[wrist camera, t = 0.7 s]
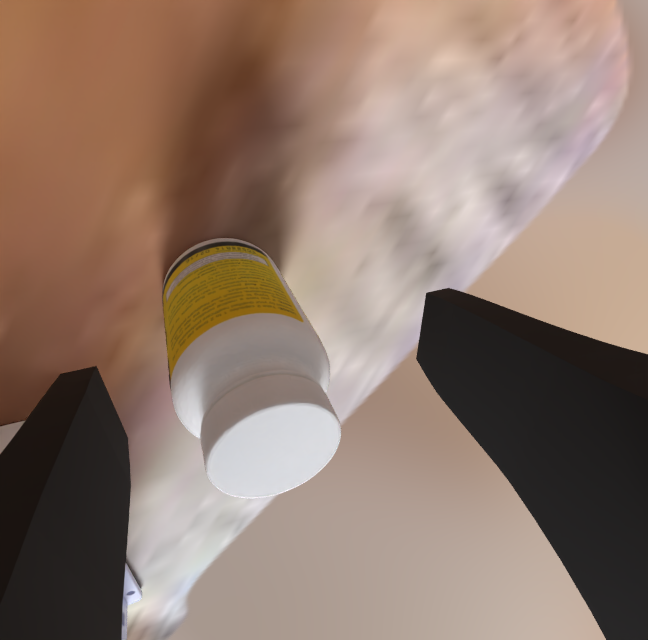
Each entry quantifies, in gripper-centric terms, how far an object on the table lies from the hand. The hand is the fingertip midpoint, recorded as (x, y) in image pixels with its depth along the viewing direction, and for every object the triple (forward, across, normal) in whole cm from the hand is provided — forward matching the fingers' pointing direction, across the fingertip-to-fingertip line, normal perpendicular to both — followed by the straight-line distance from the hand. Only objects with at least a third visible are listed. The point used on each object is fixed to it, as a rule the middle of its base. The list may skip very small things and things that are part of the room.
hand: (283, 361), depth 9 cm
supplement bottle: (+10, 0, +4) cm, 11 cm away
